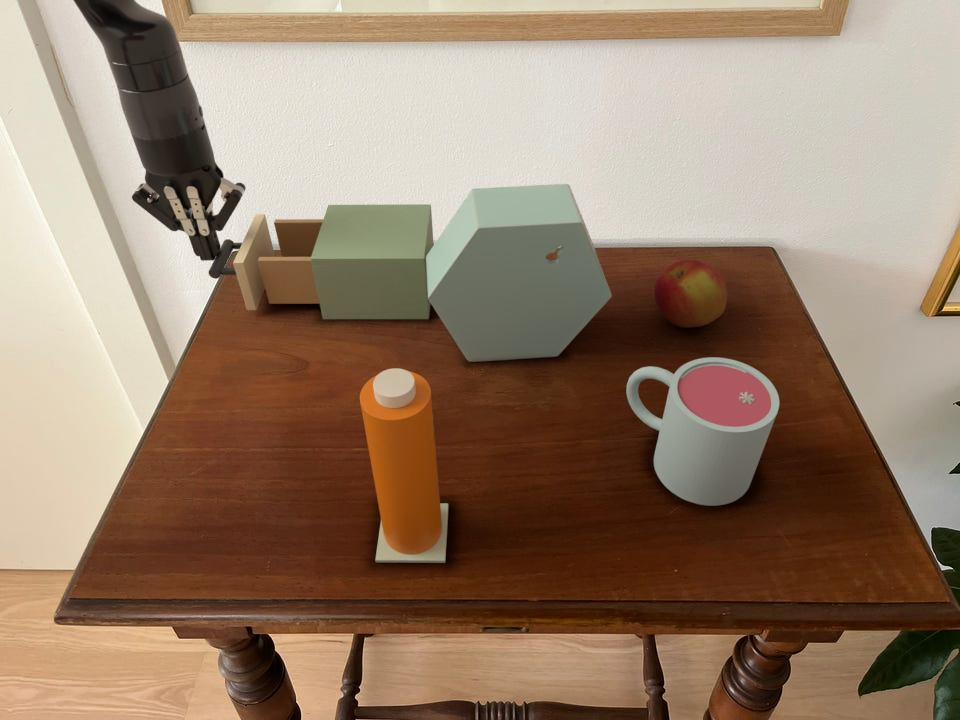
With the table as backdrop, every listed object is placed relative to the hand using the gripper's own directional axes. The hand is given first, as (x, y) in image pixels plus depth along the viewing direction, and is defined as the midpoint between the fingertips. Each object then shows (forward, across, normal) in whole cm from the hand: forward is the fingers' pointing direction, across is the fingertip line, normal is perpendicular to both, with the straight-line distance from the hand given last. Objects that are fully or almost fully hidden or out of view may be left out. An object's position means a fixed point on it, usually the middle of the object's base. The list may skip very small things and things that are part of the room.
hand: (210, 256), depth 89 cm
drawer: (+4, +9, 0) cm, 9 cm away
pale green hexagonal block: (+5, +37, -10) cm, 39 cm away
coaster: (+5, +27, -36) cm, 46 cm away
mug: (+5, +53, -27) cm, 60 cm away
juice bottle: (+5, +27, -36) cm, 46 cm away
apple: (+5, +57, -7) cm, 58 cm away
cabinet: (+5, +20, 0) cm, 21 cm away
